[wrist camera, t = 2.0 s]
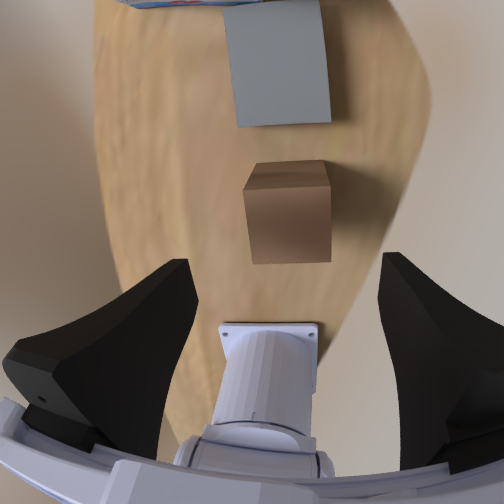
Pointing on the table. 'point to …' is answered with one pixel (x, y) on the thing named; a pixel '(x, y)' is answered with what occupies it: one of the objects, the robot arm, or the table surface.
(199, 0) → the medicine box
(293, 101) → the slate block
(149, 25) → the table surface
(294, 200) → the walnut cube
